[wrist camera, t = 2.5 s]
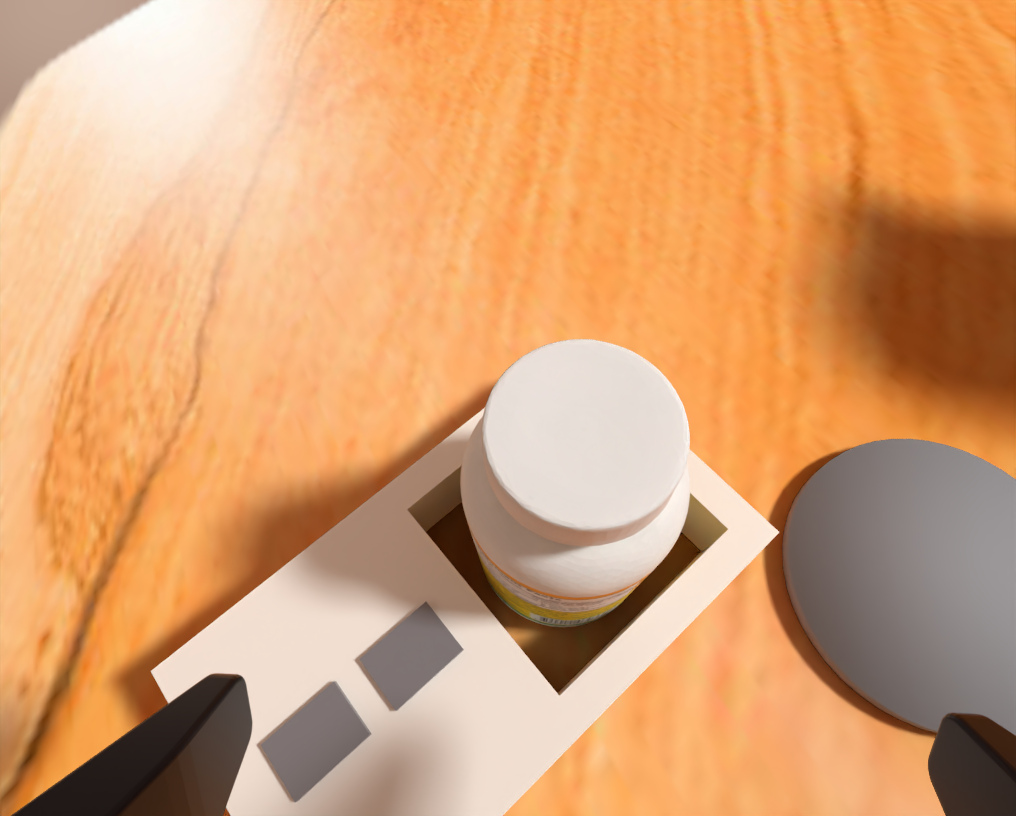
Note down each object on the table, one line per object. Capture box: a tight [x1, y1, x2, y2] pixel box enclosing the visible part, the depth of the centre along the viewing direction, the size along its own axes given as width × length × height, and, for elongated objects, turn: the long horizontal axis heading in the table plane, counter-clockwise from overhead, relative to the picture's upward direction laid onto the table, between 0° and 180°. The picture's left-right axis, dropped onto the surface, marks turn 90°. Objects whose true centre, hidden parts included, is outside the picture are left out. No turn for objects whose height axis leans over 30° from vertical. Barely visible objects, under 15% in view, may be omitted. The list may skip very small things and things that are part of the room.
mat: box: [782, 439, 1016, 736], centre depth 19 cm, size 9×9×1 cm
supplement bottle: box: [460, 339, 690, 627], centre depth 16 cm, size 5×5×10 cm
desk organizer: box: [151, 408, 779, 816], centre depth 18 cm, size 15×8×3 cm, turn 131°
